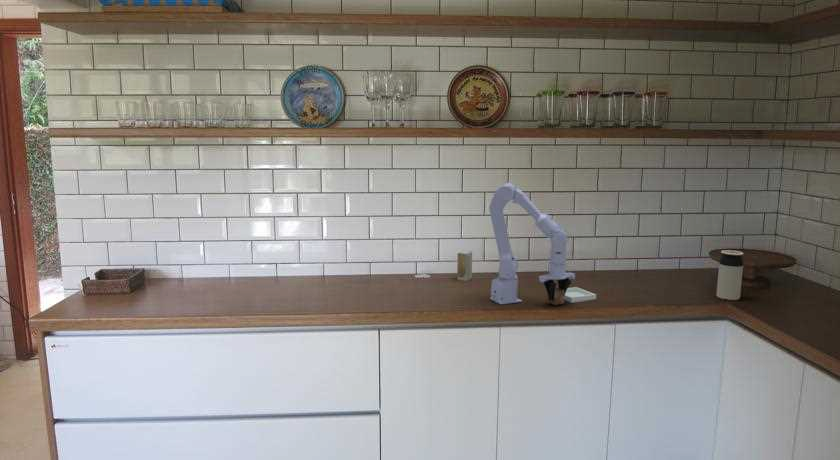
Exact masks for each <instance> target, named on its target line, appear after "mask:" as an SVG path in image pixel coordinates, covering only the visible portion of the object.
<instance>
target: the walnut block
mask: <svg viewBox="0 0 840 460" xmlns="http://www.w3.org/2000/svg"><path fill="white" fill-rule="evenodd" d="M547 298H548V297H547ZM547 302H548V303H550V304H552V305H554V306H557V305H564V304H565V300H564V290H562V289H559V287H555V291H554V300H549V298H548V299H547Z"/></svg>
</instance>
